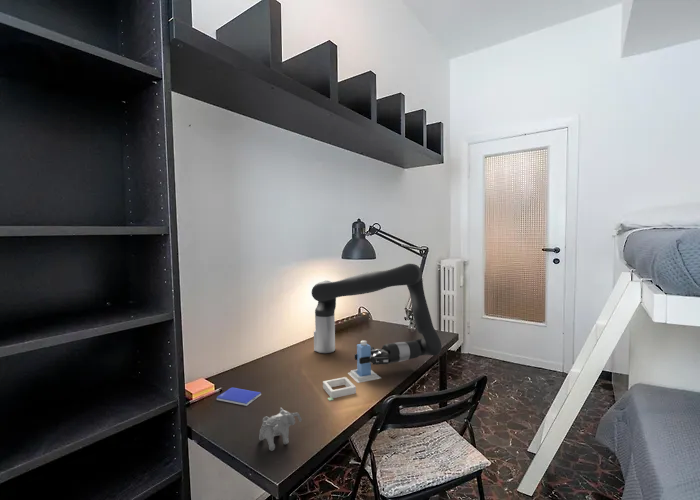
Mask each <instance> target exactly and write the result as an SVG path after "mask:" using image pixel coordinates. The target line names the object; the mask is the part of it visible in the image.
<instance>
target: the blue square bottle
mask: <svg viewBox="0 0 700 500" xmlns="http://www.w3.org/2000/svg"><path fill="white" fill-rule="evenodd" d="M356 354H357V360H356V363H357V364H356V369H357V374H358V375H359V376H360V377H362V376H367V375H371V370H372V363H364V364H360V363H359V358H362V357H369V356H372V354H371V345H370V344H368V341H367V340H365V339H364V340H363V339H362V340H361V341H360V343H359V344H358V343H357V344H356Z"/></svg>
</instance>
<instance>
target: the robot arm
mask: <svg viewBox="0 0 700 500" xmlns="http://www.w3.org/2000/svg"><path fill="white" fill-rule="evenodd" d="M423 282H424V281H423V272H422V269H421V268H420V266H418V265H417V264H415V263H406V264H403V265H400V266H396V267H394V268H389V269H386V270H373V271H367V272H362V273H358V274H354V275H350V276H347V277H345V278H343V279H340V280H335V281H330V280H322V281H319V282H317V283H316V284H315V285H313V286H312V289H311V296H312V298H313V300H315V301H317V305H316V308H315V310H314V319H315V321H314V322H315V323H314V325H315V327H314V328H315V329H314V330H313V351H314V352H317V353H319V354H330V353H334V351H336V334H335V333H336V325H335V323H336V321H335V320H336V319H335V311H336V306H337V298H340V297H348V296H349V297H350V296H358V295H364V294H371V293H376V292H379V291H382V290H384V289H387V288H389V287H399V286H407V288H408V291H409V295H410V300H411V308H412V316H413V320H414V324H415V327H416V331H417V332H418V333H419V334H421V335H422V337H423V338H419V339H415V340H407V341H398V342H392V343H391V342H390V343H385V344H384V345H382V348H375V347H373V346H372V347H371V356H369V357H362V358H359V363H360V364H364V363H371V364H372V365H377V366H378V365H389V364H393V363H400V362H405V361H407V360H413V359H416V358H419V357H421V356H438V355H440V353H441V352H442V350H443V349H442V347H443V345H442V341H441V338H440V337H439V335H438V333H437V331H436V329H435V327H434V325H433V321H432V317H431V314H430V310H429V307H428V303H427V299H426V294H425V290H424V289H425V288H424V283H423ZM354 360H356V361H357V353H355V354H354Z"/></svg>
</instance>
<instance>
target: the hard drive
mask: <svg viewBox="0 0 700 500" xmlns="http://www.w3.org/2000/svg"><path fill="white" fill-rule="evenodd" d="M261 395H262V392H261V391H253V390H248V389H242V388H238V387H230V388H228V389H227V390H225V391H224V392H222V393H221V394H218V395H217V396H216V401H220V402H226V403H229V404H230V403H231V404H234V405H235V404H236V405H239V406H244V407H245V406H246V407H247V406H249V404H251V403H253V402H254V401H255V400H256V399H258V398H259V397H260V396H261Z"/></svg>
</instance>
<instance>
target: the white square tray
mask: <svg viewBox="0 0 700 500" xmlns="http://www.w3.org/2000/svg"><path fill="white" fill-rule="evenodd" d="M347 375H349V376H350V377H351V378H352V379H353V380H354V381H355V382H356V383H357V384H359V383H364V382H369V381H375V380H379V379H382V377H381V376H379V374H378V373H376V372H375V371H373V370H372V369H371V375H367V376H362V377H360V376H359V375H358V374H357V368H356V369H352V370H350V372H347Z"/></svg>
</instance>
